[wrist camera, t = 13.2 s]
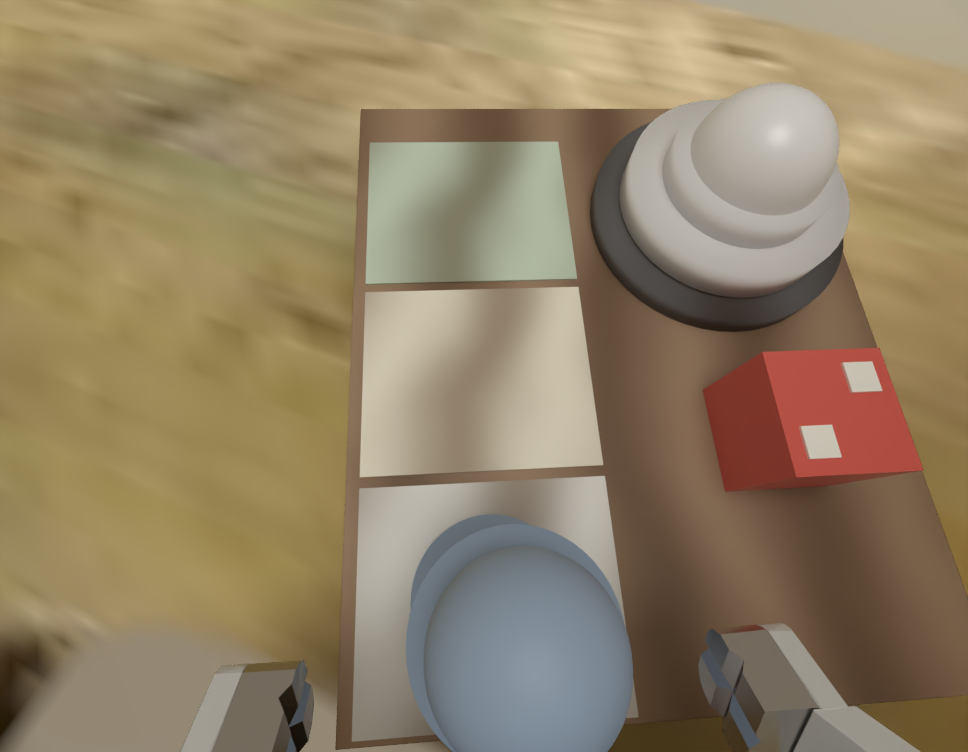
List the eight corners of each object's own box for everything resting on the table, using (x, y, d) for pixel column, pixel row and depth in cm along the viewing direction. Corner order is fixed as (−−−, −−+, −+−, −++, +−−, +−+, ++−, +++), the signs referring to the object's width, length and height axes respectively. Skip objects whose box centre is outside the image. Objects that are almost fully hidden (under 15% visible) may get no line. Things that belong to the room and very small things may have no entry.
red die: (797, 386, 19) (881, 346, 16) (826, 486, 18) (926, 469, 14) (702, 390, 19) (763, 350, 15) (725, 491, 18) (798, 476, 14)
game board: (773, 132, 26) (804, 91, 24) (957, 680, 17) (1035, 701, 15) (366, 134, 25) (356, 91, 22) (346, 731, 16) (326, 763, 14)
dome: (791, 127, 23) (882, 12, 18) (850, 294, 20) (979, 211, 15) (605, 128, 22) (647, 9, 17) (637, 300, 19) (699, 216, 14)
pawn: (557, 512, 17) (701, 463, 7) (575, 678, 15) (798, 935, 5) (412, 520, 17) (340, 481, 7) (413, 691, 15) (318, 992, 5)
